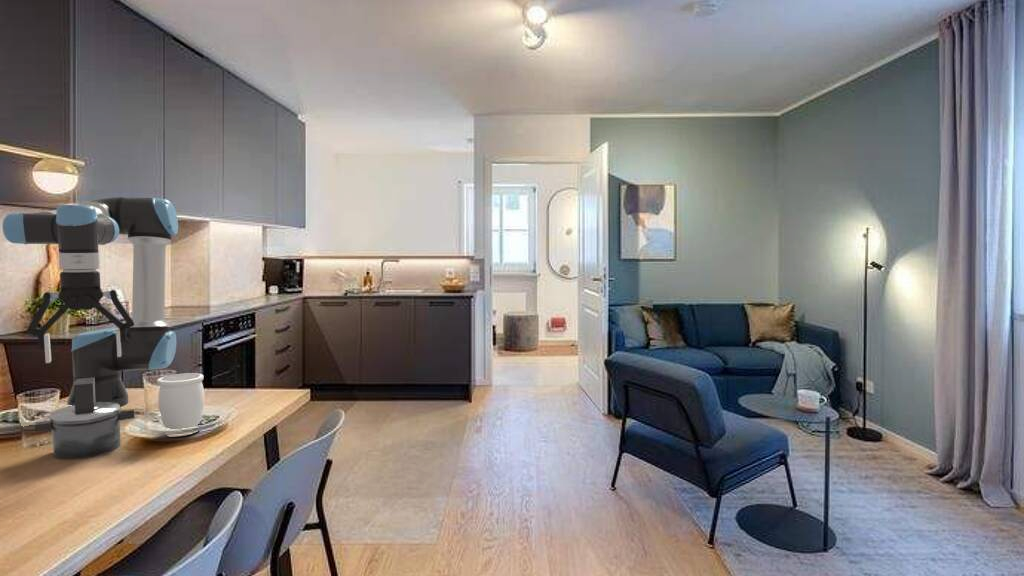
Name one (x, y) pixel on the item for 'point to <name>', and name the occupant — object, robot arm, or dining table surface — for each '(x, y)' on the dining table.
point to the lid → (84, 405)
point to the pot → (85, 436)
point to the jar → (181, 400)
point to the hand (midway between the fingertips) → (84, 358)
